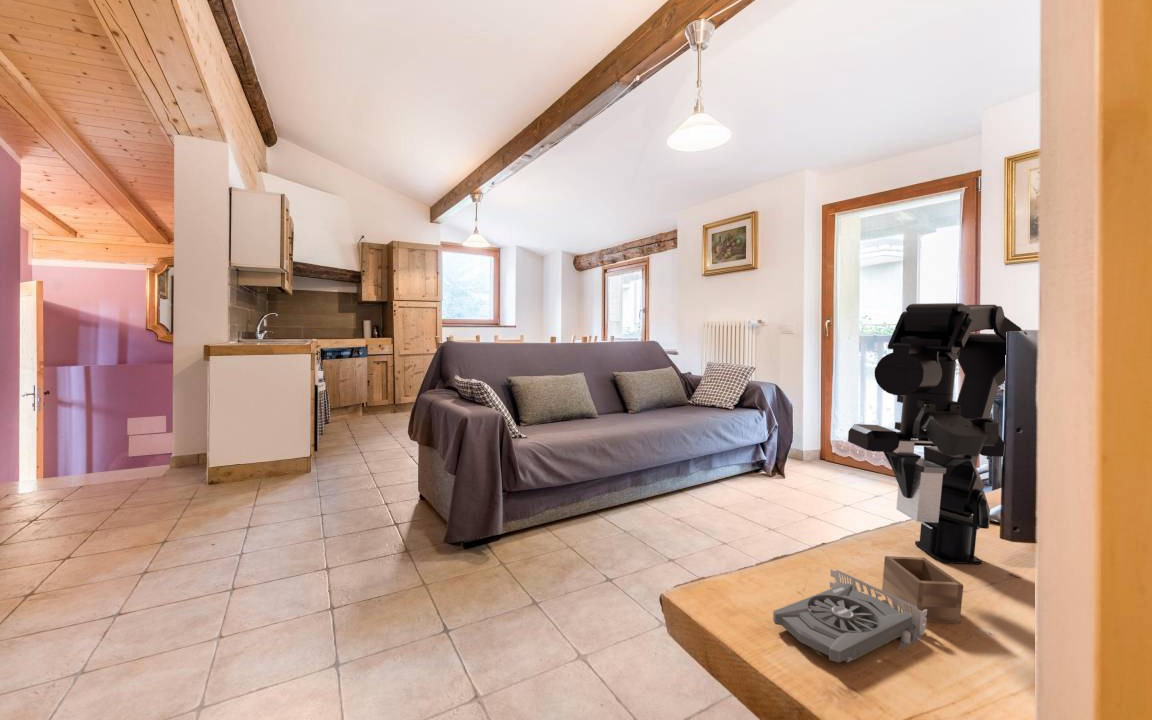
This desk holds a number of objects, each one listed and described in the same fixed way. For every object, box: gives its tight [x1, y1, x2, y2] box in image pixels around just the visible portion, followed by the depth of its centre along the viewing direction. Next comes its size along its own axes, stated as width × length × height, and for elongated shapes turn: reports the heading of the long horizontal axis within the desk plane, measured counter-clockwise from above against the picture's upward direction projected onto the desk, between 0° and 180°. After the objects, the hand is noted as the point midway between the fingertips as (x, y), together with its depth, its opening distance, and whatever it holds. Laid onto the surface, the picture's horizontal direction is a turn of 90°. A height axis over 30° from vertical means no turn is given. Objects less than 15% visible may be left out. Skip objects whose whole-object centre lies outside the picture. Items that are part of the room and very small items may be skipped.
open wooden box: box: [881, 555, 964, 624], centre depth 63 cm, size 5×7×5 cm
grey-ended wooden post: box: [895, 457, 946, 523], centre depth 70 cm, size 6×3×8 cm, turn 178°
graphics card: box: [772, 569, 927, 663], centre depth 59 cm, size 17×4×12 cm
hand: (918, 497), depth 70 cm, fingers closed on grey-ended wooden post, 3 cm apart
